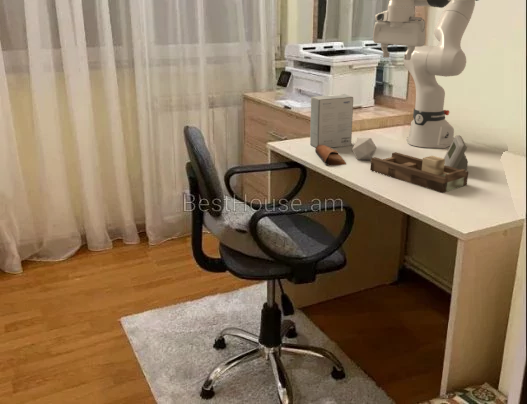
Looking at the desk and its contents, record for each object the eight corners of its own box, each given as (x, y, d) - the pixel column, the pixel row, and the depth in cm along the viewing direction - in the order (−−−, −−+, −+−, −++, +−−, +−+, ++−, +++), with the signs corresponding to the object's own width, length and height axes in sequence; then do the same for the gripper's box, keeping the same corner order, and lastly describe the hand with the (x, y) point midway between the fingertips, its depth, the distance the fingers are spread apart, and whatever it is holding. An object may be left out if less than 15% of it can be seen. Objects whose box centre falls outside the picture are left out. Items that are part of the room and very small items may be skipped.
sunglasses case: (348, 164, 208) (340, 149, 206) (331, 174, 209) (323, 159, 206) (335, 151, 225) (328, 137, 223) (320, 161, 226) (312, 147, 223)
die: (369, 165, 210) (383, 142, 211) (349, 152, 210) (363, 130, 211) (365, 166, 219) (378, 145, 219) (346, 154, 219) (359, 133, 219)
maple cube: (430, 170, 192) (432, 155, 190) (443, 173, 188) (445, 158, 187) (421, 172, 189) (422, 158, 187) (433, 176, 185) (435, 161, 184)
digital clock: (443, 161, 213) (446, 133, 209) (469, 164, 210) (473, 135, 206) (437, 173, 199) (441, 143, 195) (465, 176, 196) (469, 146, 192)
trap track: (394, 164, 209) (395, 149, 207) (466, 184, 187) (468, 168, 185) (370, 170, 202) (371, 155, 200) (442, 192, 179) (444, 176, 177)
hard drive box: (342, 141, 240) (345, 93, 234) (351, 146, 234) (354, 96, 227) (309, 144, 235) (310, 96, 228) (317, 149, 229) (319, 99, 222)
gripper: (431, 17, 187) (427, 60, 191) (383, 15, 202) (380, 55, 207) (419, 17, 183) (414, 61, 188) (371, 15, 199) (368, 56, 203)
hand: (396, 58), depth 197 cm, fingers open, 8 cm apart
